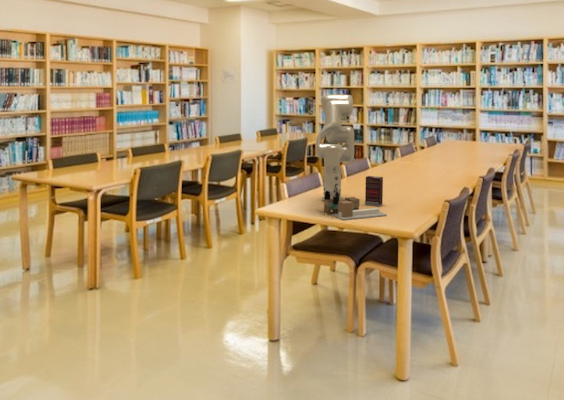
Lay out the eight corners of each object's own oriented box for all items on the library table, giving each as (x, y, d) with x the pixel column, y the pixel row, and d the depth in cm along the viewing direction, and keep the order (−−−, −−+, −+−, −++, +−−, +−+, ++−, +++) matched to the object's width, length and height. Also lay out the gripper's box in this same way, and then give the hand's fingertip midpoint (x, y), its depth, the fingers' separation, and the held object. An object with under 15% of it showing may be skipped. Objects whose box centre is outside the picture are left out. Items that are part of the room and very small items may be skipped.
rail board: (331, 215, 296) (331, 200, 295) (373, 211, 306) (374, 196, 304) (343, 220, 286) (343, 204, 284) (386, 215, 295) (387, 200, 294)
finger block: (329, 215, 298) (329, 201, 297) (324, 212, 303) (324, 199, 302) (339, 213, 300) (339, 200, 299) (334, 211, 305) (334, 198, 304)
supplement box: (382, 205, 322) (383, 176, 319) (379, 206, 318) (380, 177, 315) (368, 203, 326) (368, 175, 323) (364, 205, 322) (365, 176, 319)
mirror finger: (344, 210, 308) (344, 197, 307) (354, 209, 310) (354, 196, 309) (350, 212, 303) (350, 199, 301) (359, 211, 305) (360, 198, 304)
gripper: (346, 171, 291) (346, 204, 294) (330, 167, 307) (330, 199, 309) (333, 171, 288) (333, 206, 291) (317, 168, 304) (317, 200, 307)
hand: (331, 202), depth 300 cm, fingers open, 9 cm apart
